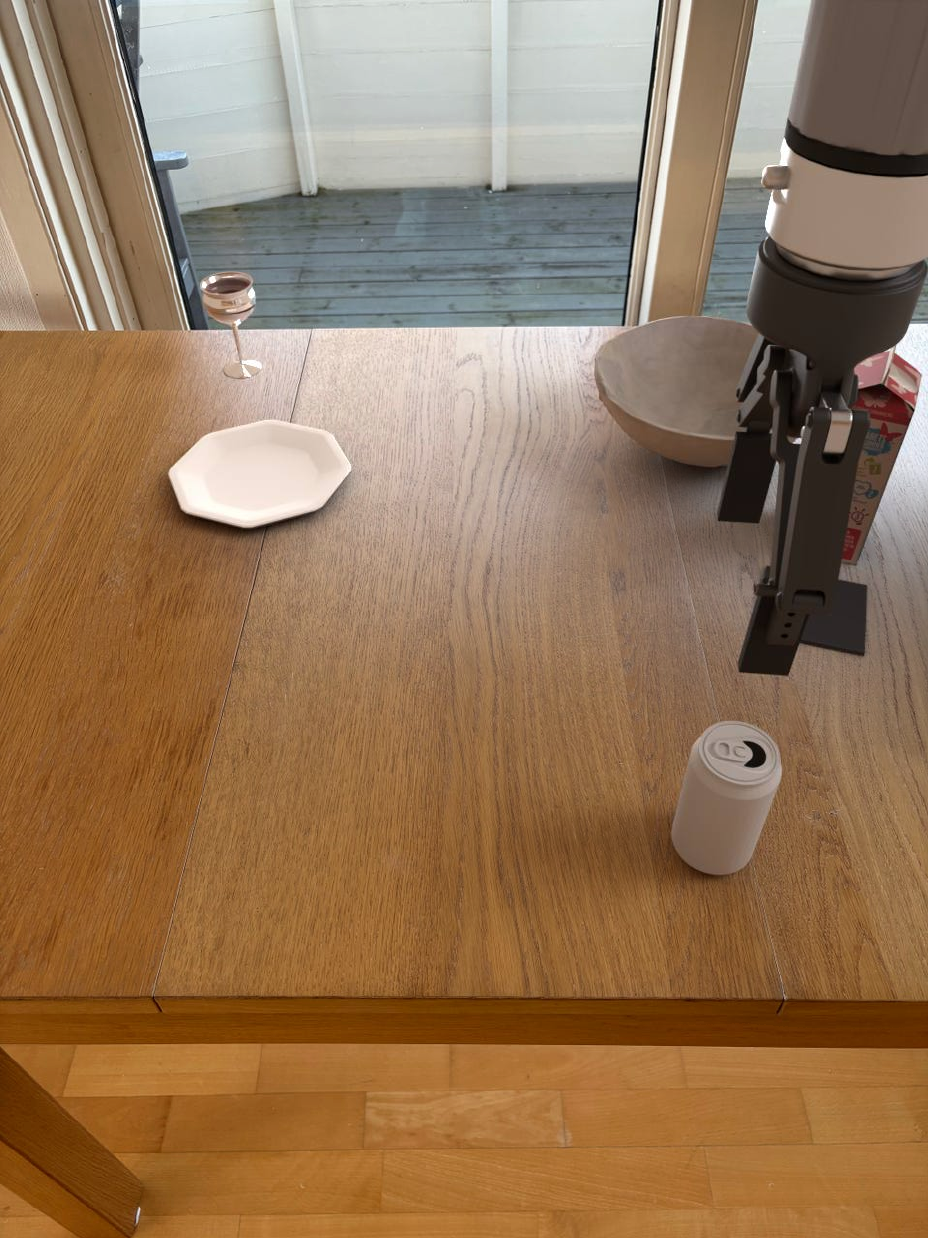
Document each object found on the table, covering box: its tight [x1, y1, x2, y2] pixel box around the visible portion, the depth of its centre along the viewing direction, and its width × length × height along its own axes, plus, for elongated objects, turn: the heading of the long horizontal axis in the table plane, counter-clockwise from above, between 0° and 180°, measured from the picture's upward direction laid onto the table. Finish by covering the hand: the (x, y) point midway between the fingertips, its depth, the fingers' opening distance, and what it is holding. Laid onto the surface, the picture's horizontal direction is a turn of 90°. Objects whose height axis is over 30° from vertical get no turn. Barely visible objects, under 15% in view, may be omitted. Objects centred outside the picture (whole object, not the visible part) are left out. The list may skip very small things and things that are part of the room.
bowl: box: [593, 315, 798, 468], centre depth 111 cm, size 26×26×10 cm
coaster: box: [763, 564, 868, 656], centre depth 94 cm, size 10×10×1 cm
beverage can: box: [670, 720, 783, 876], centre depth 71 cm, size 6×6×12 cm
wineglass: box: [199, 271, 262, 379], centre depth 124 cm, size 7×7×12 cm
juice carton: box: [841, 345, 923, 566], centre depth 94 cm, size 7×7×22 cm
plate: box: [167, 419, 352, 530], centre depth 109 cm, size 20×20×2 cm
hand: (749, 588), depth 58 cm, fingers open, 13 cm apart
